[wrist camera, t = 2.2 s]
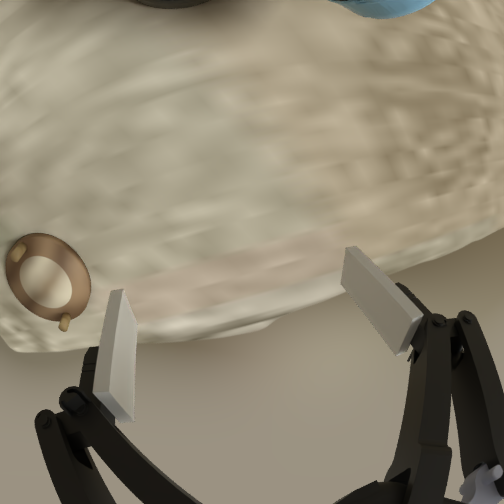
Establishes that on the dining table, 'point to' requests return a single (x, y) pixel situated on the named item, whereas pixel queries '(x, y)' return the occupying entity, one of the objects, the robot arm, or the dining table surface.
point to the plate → (48, 278)
